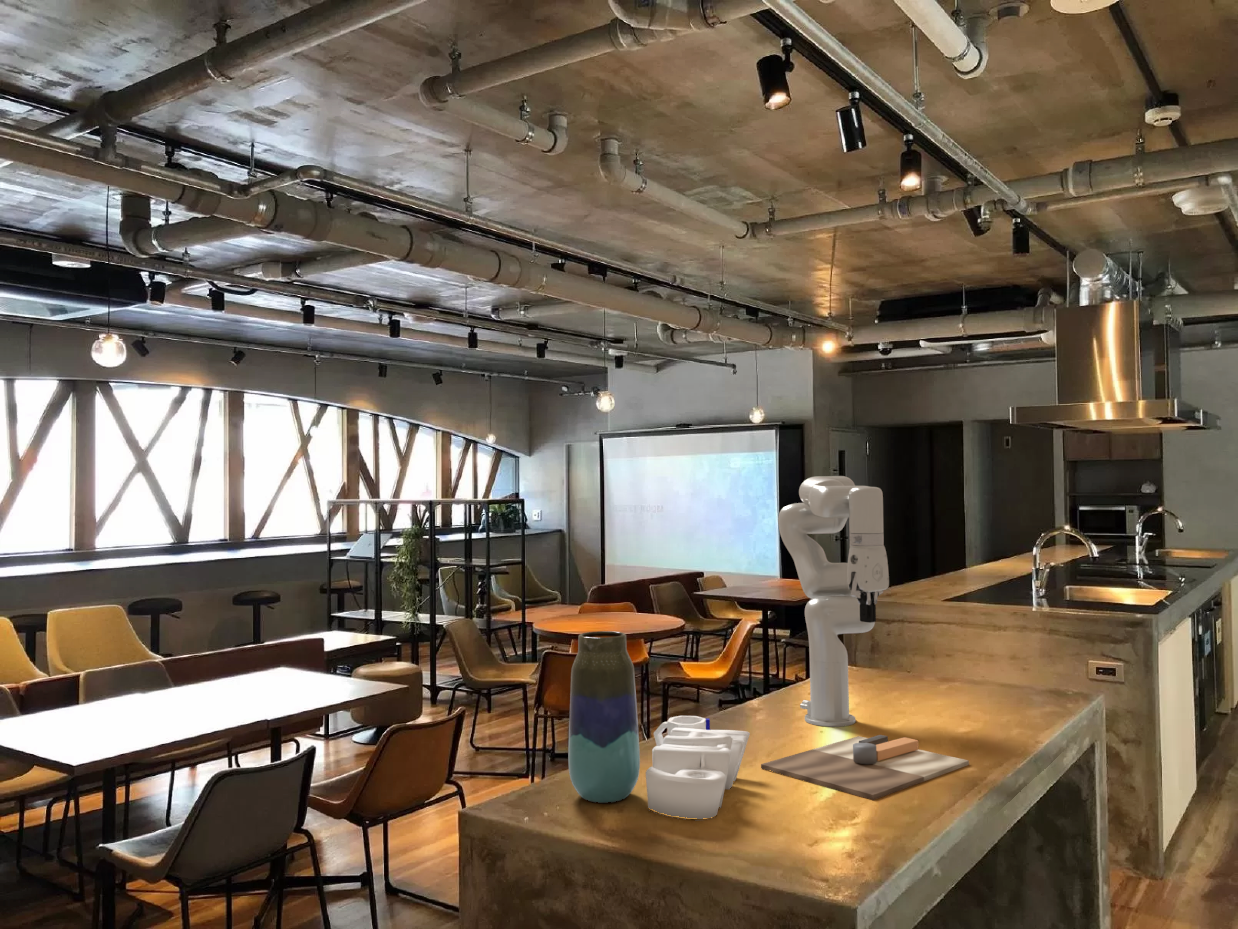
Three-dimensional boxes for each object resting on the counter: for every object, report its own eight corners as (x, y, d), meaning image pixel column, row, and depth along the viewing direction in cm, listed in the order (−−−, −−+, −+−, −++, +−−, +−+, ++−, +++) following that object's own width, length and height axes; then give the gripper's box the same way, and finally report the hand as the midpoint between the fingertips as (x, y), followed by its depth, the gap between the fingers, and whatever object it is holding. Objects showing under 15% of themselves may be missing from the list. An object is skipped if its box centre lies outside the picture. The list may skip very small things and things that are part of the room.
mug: (713, 763, 204) (712, 718, 205) (695, 774, 197) (694, 726, 197) (664, 756, 211) (663, 712, 211) (645, 766, 203) (644, 720, 204)
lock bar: (866, 765, 197) (866, 749, 197) (848, 760, 201) (848, 745, 201) (920, 750, 208) (920, 735, 208) (902, 745, 212) (902, 731, 212)
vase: (616, 813, 174) (613, 641, 175) (554, 801, 181) (552, 636, 182) (653, 792, 185) (650, 631, 186) (594, 782, 193) (592, 627, 194)
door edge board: (761, 769, 200) (760, 754, 200) (858, 740, 222) (858, 727, 222) (873, 800, 179) (872, 784, 179) (969, 765, 200) (968, 751, 200)
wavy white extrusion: (682, 767, 203) (681, 717, 203) (759, 773, 197) (758, 722, 197) (629, 821, 170) (628, 761, 170) (719, 830, 164) (718, 769, 164)
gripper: (860, 543, 208) (862, 627, 208) (899, 540, 218) (901, 620, 217) (832, 542, 214) (834, 623, 213) (871, 538, 223) (873, 616, 223)
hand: (867, 621), depth 215 cm, fingers closed
